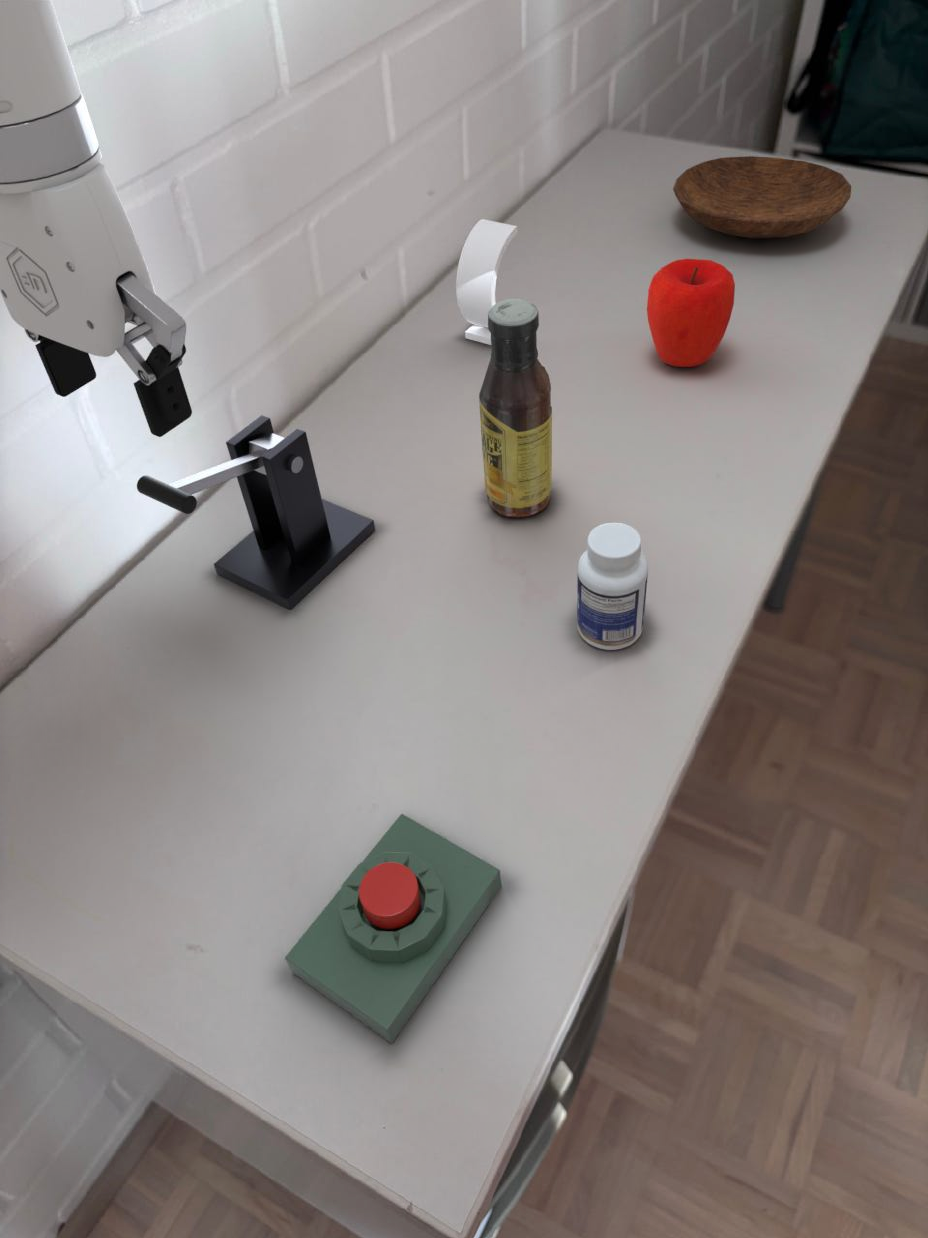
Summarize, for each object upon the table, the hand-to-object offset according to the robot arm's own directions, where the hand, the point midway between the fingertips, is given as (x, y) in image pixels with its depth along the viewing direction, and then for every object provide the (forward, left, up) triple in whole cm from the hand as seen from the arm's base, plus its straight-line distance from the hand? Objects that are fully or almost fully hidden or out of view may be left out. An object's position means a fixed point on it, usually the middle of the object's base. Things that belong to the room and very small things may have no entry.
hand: (123, 405), depth 65 cm
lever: (+6, 0, -11) cm, 13 cm away
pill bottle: (+17, -29, -23) cm, 41 cm away
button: (-13, -30, -19) cm, 38 cm away
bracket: (+11, 0, -23) cm, 25 cm away
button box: (-13, -30, -23) cm, 40 cm away
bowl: (+90, -11, -23) cm, 94 cm away
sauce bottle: (+27, -14, -23) cm, 38 cm away
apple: (+56, -17, -23) cm, 63 cm away
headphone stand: (+51, +5, -23) cm, 56 cm away
